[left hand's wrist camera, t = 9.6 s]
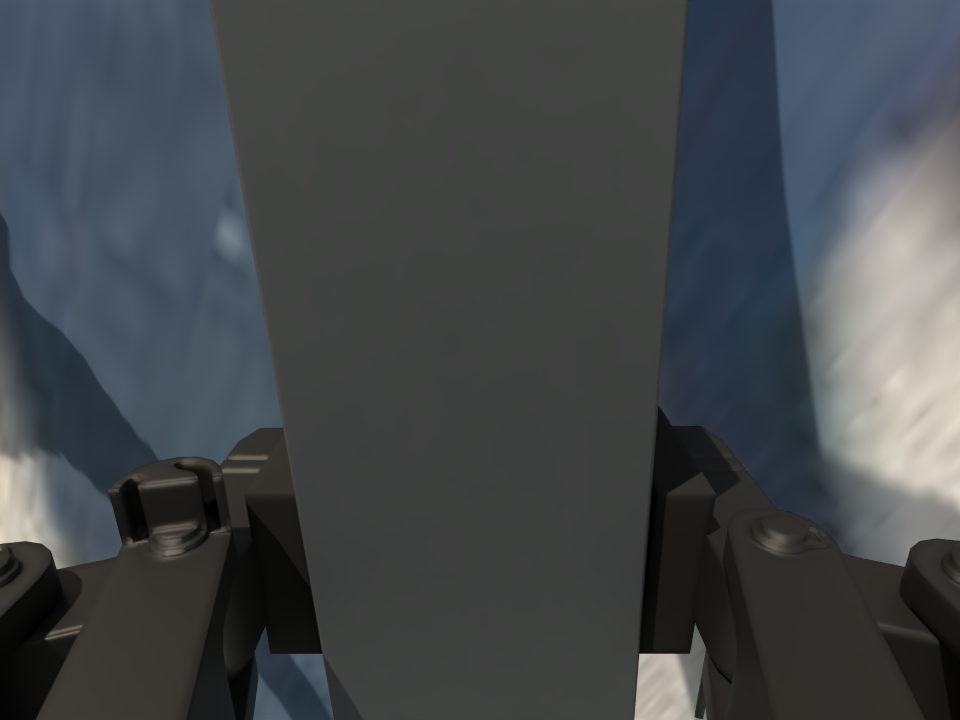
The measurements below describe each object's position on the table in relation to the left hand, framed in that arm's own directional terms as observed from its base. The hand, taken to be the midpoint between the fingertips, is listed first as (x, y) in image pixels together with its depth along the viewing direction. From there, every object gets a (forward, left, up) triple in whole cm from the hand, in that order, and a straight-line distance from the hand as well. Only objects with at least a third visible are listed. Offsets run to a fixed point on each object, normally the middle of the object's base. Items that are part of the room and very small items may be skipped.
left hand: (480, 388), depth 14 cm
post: (+21, +10, -1) cm, 23 cm away
